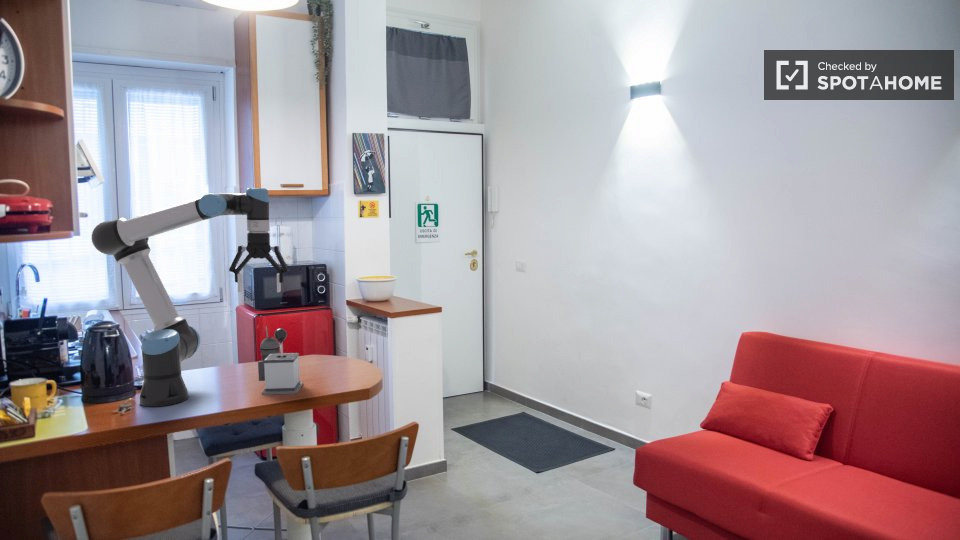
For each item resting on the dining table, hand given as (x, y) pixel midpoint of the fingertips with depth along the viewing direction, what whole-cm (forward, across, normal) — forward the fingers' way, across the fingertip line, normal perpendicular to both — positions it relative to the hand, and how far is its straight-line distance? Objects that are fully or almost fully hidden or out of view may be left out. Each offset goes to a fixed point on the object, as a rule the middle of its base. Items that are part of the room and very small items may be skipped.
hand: (259, 291), depth 244 cm
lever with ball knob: (+32, +8, -2) cm, 33 cm away
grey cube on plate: (+35, +7, -2) cm, 36 cm away
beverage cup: (+35, 0, +14) cm, 38 cm away
